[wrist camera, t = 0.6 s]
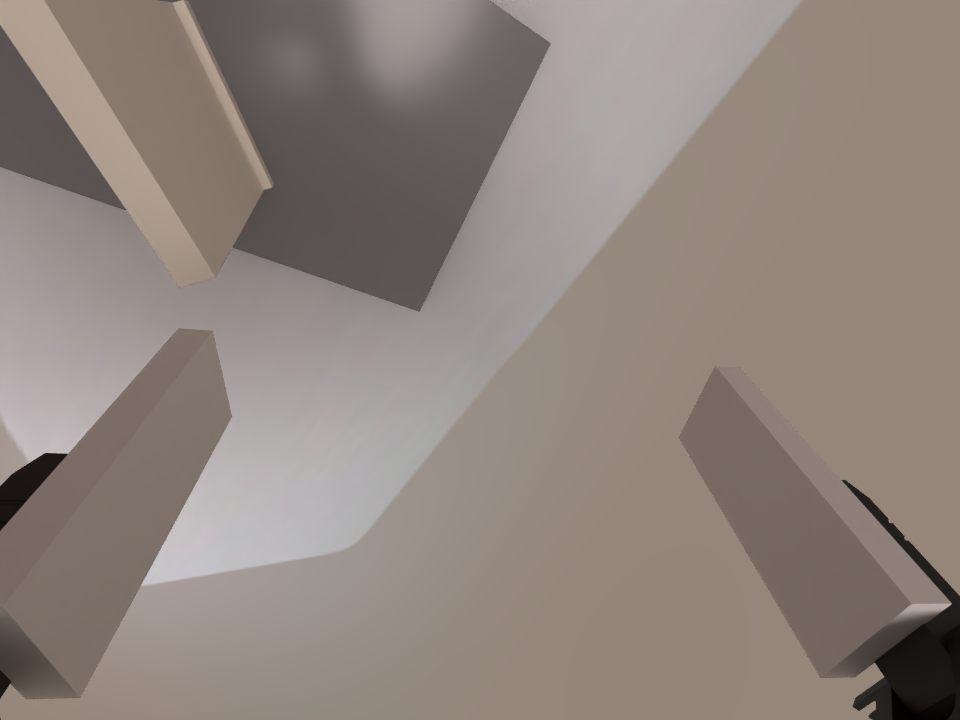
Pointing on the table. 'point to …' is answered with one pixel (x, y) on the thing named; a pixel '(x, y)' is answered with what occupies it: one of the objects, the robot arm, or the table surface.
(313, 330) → the table surface
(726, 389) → the robot arm
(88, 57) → the cream flat block
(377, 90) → the slate board
